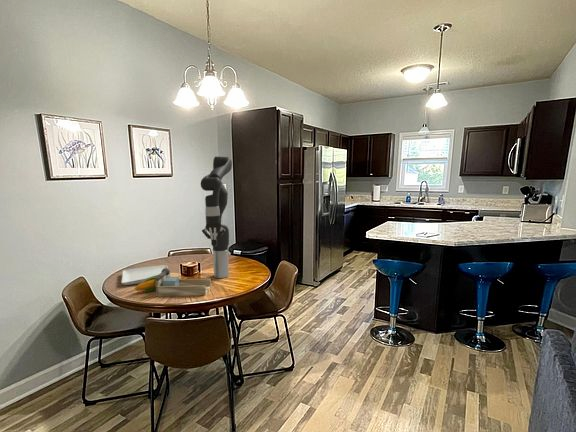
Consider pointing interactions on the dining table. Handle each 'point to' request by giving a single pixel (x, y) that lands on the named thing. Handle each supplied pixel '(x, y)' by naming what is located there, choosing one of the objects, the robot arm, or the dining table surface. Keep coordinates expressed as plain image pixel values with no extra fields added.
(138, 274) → the square plate
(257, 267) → the dining table surface
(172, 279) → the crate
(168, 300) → the dining table surface
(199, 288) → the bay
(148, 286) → the corn
